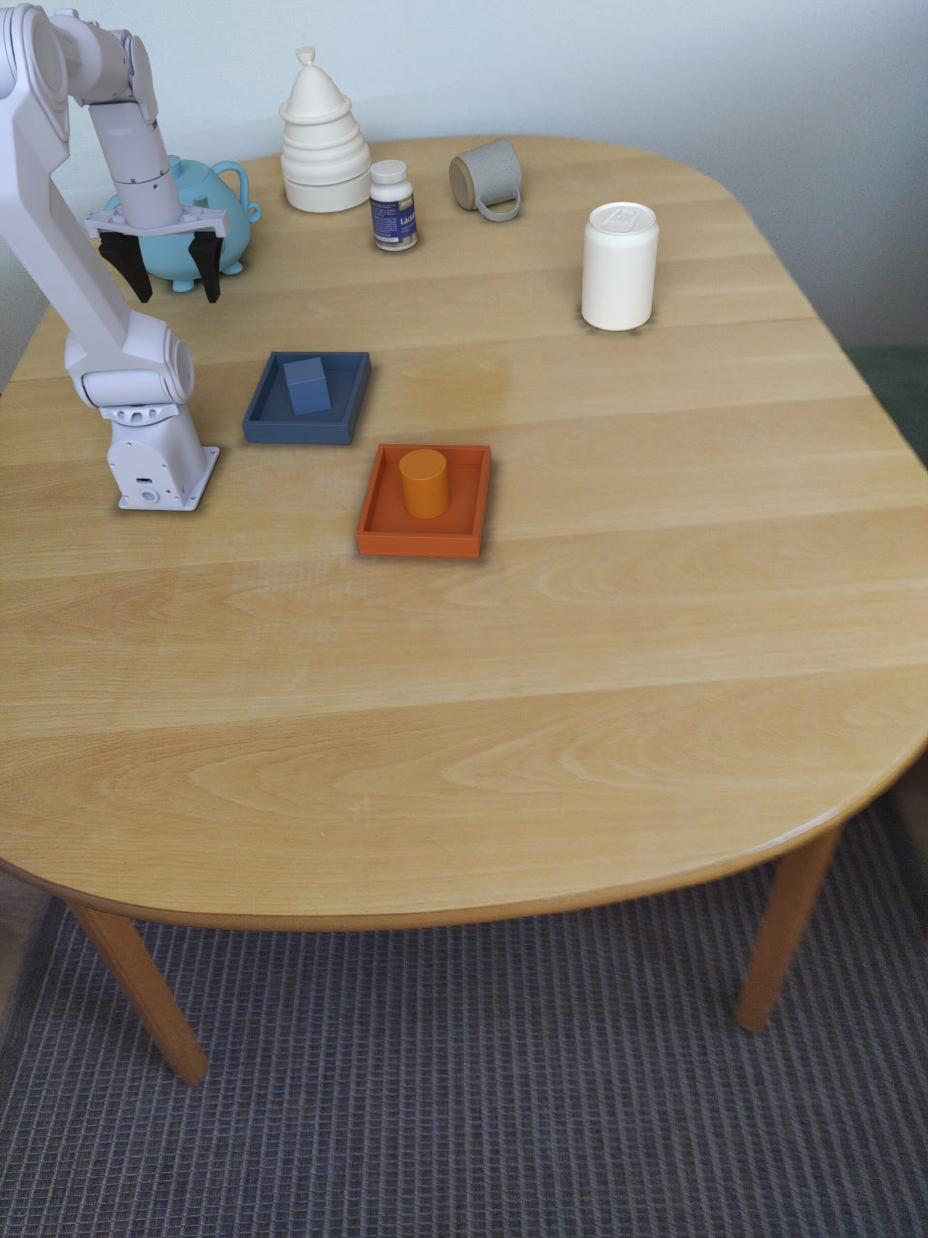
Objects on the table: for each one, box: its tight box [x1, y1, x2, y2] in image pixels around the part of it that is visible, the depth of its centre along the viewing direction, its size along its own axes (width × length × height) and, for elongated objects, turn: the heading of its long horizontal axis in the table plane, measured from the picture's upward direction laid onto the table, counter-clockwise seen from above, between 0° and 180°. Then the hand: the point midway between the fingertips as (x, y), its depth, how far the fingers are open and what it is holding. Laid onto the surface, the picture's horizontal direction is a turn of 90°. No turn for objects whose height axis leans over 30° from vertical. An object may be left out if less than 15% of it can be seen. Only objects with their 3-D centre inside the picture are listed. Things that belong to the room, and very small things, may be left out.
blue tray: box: [241, 350, 372, 446], centre depth 103 cm, size 13×11×2 cm
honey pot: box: [278, 46, 373, 213], centre depth 131 cm, size 13×13×18 cm
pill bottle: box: [369, 159, 418, 252], centre depth 123 cm, size 6×6×10 cm
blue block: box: [283, 357, 331, 416], centre depth 102 cm, size 4×4×4 cm
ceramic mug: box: [448, 137, 524, 223], centre depth 128 cm, size 11×8×8 cm
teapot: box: [103, 154, 262, 293], centre depth 120 cm, size 16×20×14 cm
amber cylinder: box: [399, 449, 450, 519], centre depth 89 cm, size 4×4×5 cm
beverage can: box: [581, 201, 660, 332], centre depth 107 cm, size 8×8×12 cm
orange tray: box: [355, 443, 492, 559], centre depth 90 cm, size 13×11×2 cm
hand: (181, 298), depth 102 cm, fingers open, 7 cm apart
